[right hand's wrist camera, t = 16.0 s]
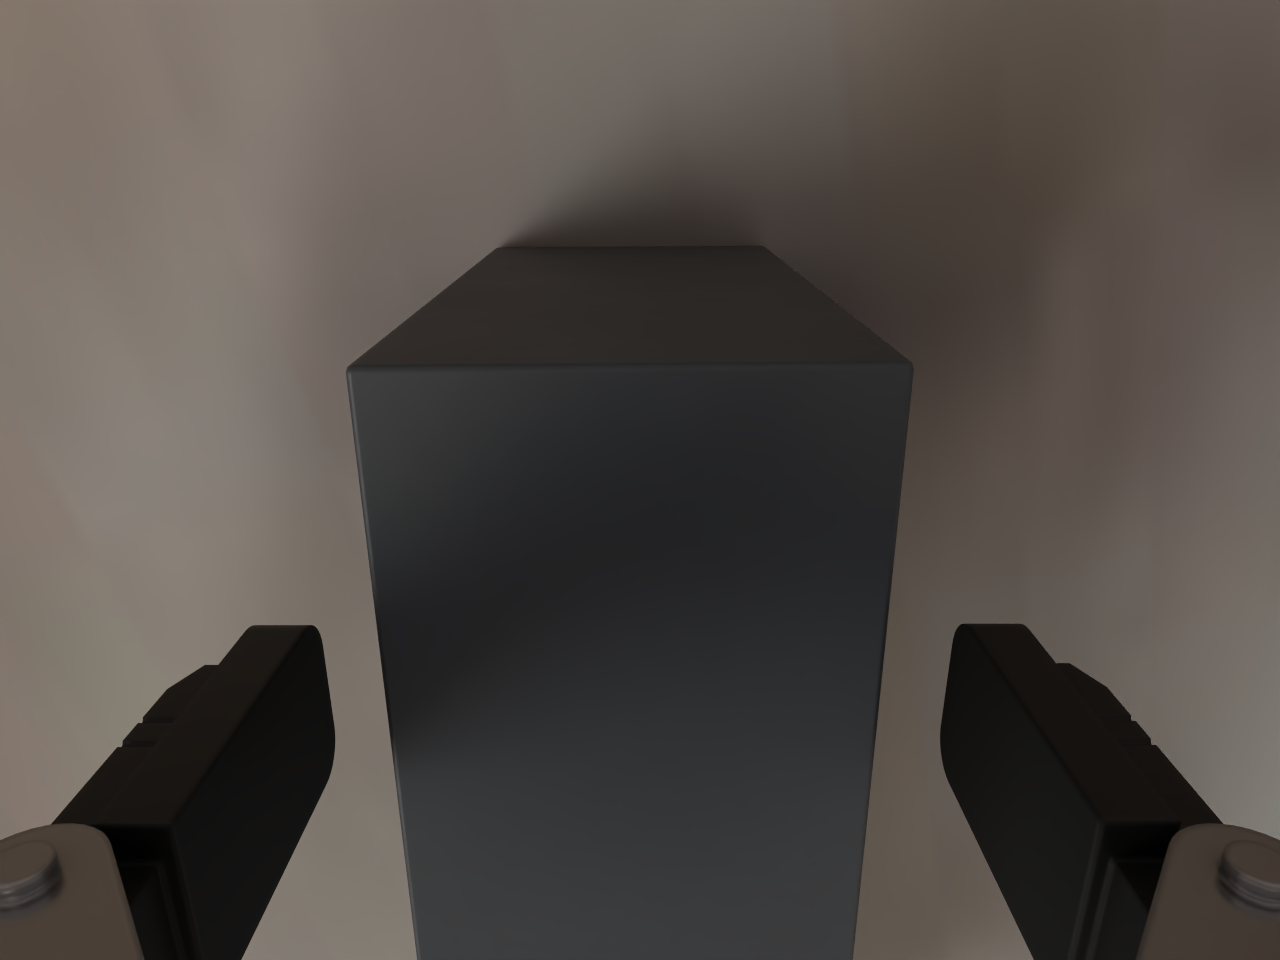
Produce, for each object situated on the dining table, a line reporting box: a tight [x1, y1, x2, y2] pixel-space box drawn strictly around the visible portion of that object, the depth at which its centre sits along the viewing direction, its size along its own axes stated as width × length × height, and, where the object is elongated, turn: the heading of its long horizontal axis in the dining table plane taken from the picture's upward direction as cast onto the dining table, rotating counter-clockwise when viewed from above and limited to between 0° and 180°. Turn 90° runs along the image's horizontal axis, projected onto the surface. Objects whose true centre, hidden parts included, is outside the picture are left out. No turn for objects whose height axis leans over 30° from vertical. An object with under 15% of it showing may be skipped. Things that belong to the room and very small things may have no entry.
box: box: [346, 246, 914, 960], centre depth 19 cm, size 25×6×11 cm, turn 0°
